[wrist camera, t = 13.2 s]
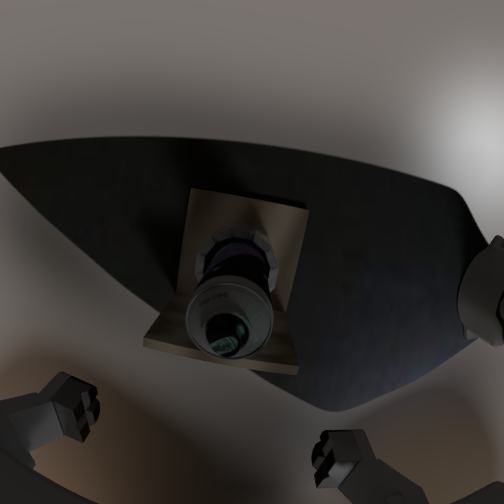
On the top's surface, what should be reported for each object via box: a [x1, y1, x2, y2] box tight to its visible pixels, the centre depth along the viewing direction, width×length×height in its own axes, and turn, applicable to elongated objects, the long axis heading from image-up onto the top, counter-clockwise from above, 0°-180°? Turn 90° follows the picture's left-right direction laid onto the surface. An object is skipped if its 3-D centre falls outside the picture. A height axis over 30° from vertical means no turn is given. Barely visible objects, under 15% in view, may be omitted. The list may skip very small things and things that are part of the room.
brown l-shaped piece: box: [143, 188, 309, 375], centre depth 28 cm, size 14×14×13 cm
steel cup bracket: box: [195, 222, 279, 292], centre depth 31 cm, size 8×10×6 cm
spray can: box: [185, 237, 273, 360], centre depth 24 cm, size 6×6×20 cm
